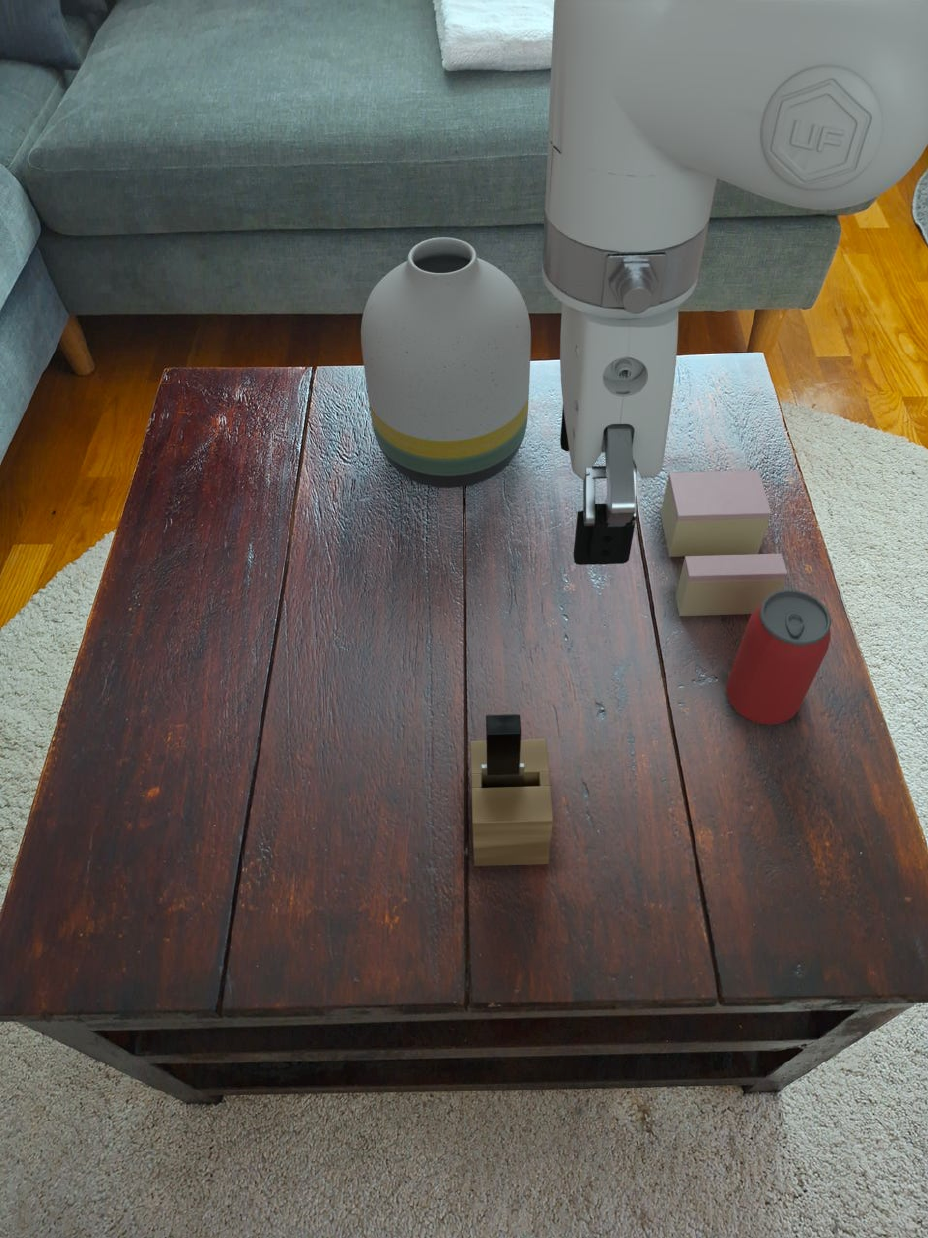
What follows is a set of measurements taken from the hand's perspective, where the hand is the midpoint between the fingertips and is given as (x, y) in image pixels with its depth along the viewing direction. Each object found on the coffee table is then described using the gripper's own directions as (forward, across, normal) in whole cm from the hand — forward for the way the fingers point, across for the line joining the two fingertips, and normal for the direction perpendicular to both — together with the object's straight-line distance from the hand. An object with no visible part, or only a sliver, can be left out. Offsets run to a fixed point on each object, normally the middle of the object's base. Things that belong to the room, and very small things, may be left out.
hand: (592, 501), depth 58 cm
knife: (+30, -7, +6) cm, 32 cm away
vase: (+31, +38, +10) cm, 50 cm away
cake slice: (+30, +15, -17) cm, 38 cm away
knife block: (+30, -7, +5) cm, 32 cm away
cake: (+30, +24, -17) cm, 43 cm away
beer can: (+31, +4, -18) cm, 36 cm away
